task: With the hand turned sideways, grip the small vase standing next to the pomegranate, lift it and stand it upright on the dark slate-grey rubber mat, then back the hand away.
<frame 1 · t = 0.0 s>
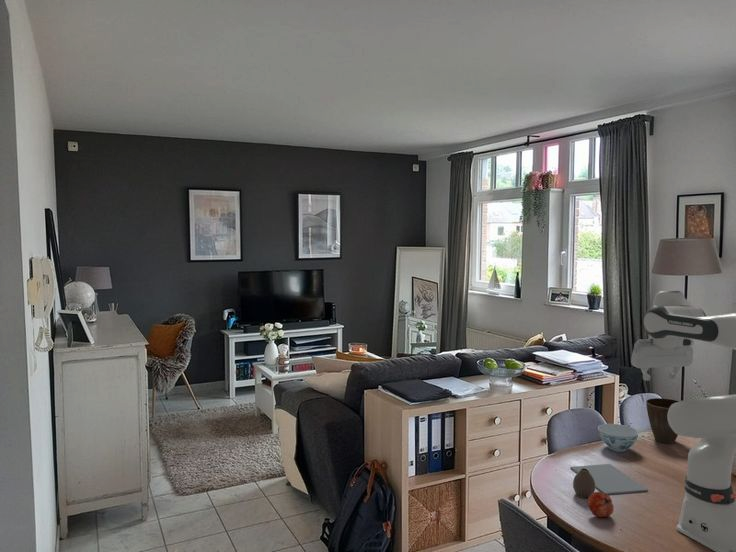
hand: (659, 379, 192), 39 cm above the table, tool pointing down, fingers open, 8 cm apart
chinaware: (617, 449, 236), on the table
mat: (607, 479, 206), on the table
pomegranate: (599, 515, 180), on the table
plant pot: (664, 440, 245), on the table
vase: (583, 495, 194), on the table
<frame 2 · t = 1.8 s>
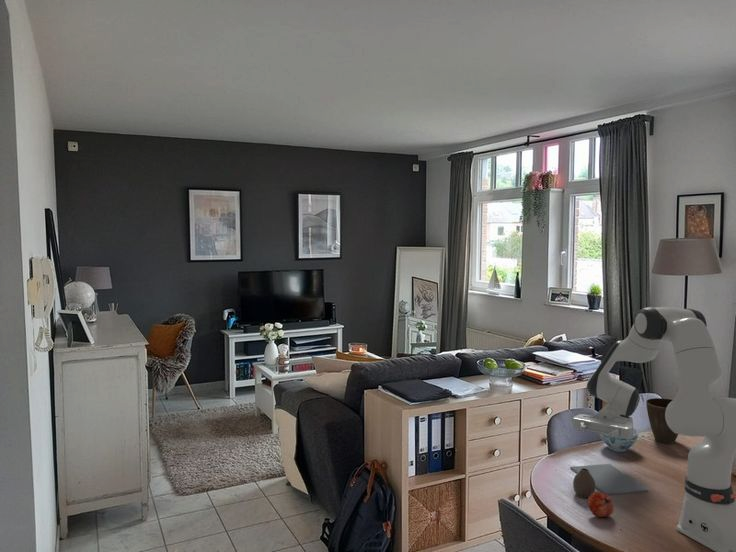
hand: (596, 432, 202), 18 cm above the table, tool horizontal, fingers open, 8 cm apart
nothing on the table moved.
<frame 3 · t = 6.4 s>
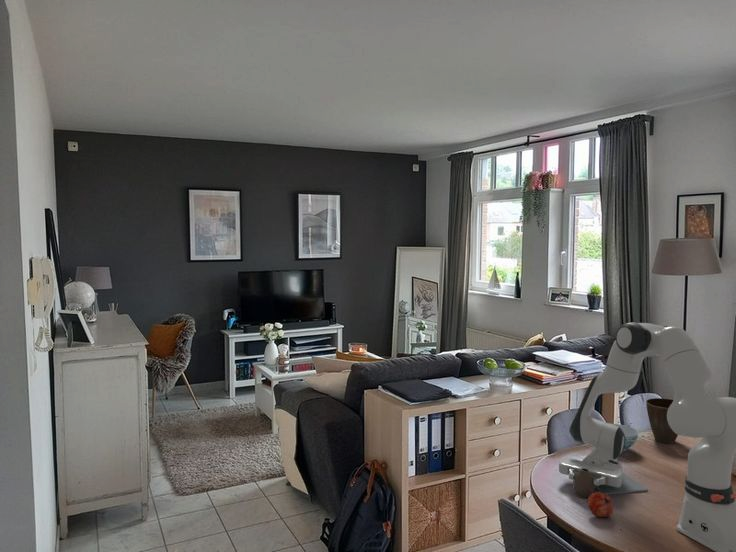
hand: (583, 480, 193), 5 cm above the table, tool horizontal, fingers closed on vase, 7 cm apart
vase: (583, 495, 194), on the table, touching gripper
everything else where it was.
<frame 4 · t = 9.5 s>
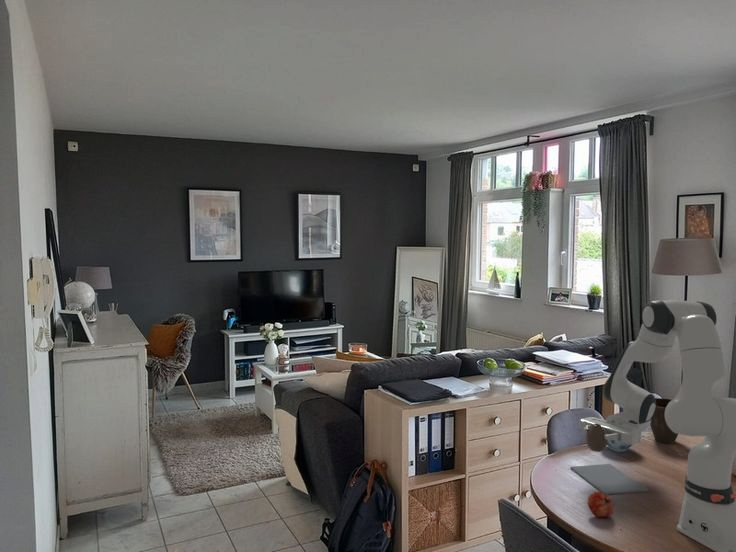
hand: (595, 434, 200), 18 cm above the table, tool horizontal, fingers closed on vase, 7 cm apart
vase: (596, 450, 201), point 12 cm above the table, touching gripper
everything else where it was.
when the fingers open (7 cm above the table, at t = 12.2 s): vase drops 1 cm, resting on mat.
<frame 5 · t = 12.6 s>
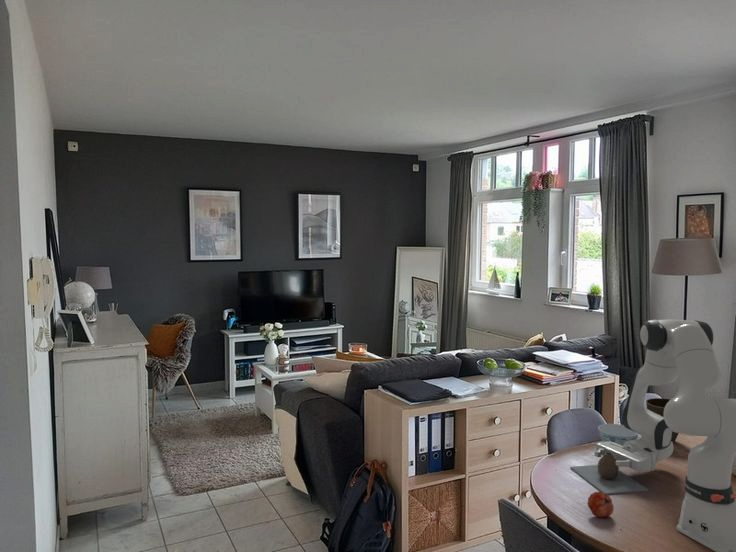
hand: (606, 459, 205), 7 cm above the table, tool horizontal, fingers open, 8 cm apart
vase: (607, 478, 206), resting on mat
everything else where it was.
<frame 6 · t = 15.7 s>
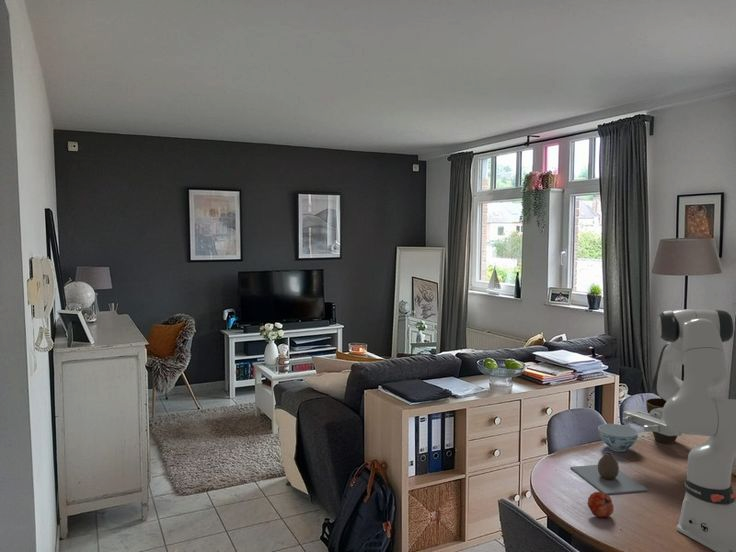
hand: (634, 424, 210), 18 cm above the table, tool horizontal, fingers open, 8 cm apart
nothing on the table moved.
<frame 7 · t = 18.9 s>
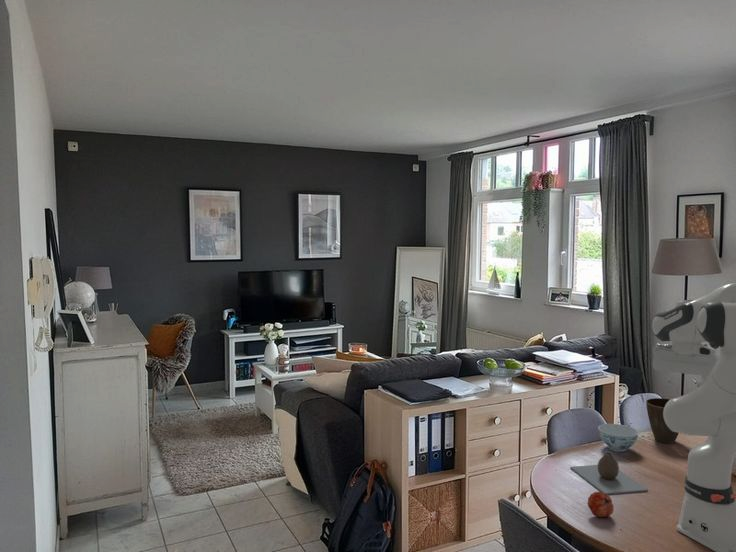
hand: (684, 385, 202), 34 cm above the table, tool pointing down, fingers open, 8 cm apart
nothing on the table moved.
at the end: vase inside the target area on the mat (0.1 cm from its centre), point 0.4 cm above the mat's base; vase tilted 0°; the gripper is holding nothing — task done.
